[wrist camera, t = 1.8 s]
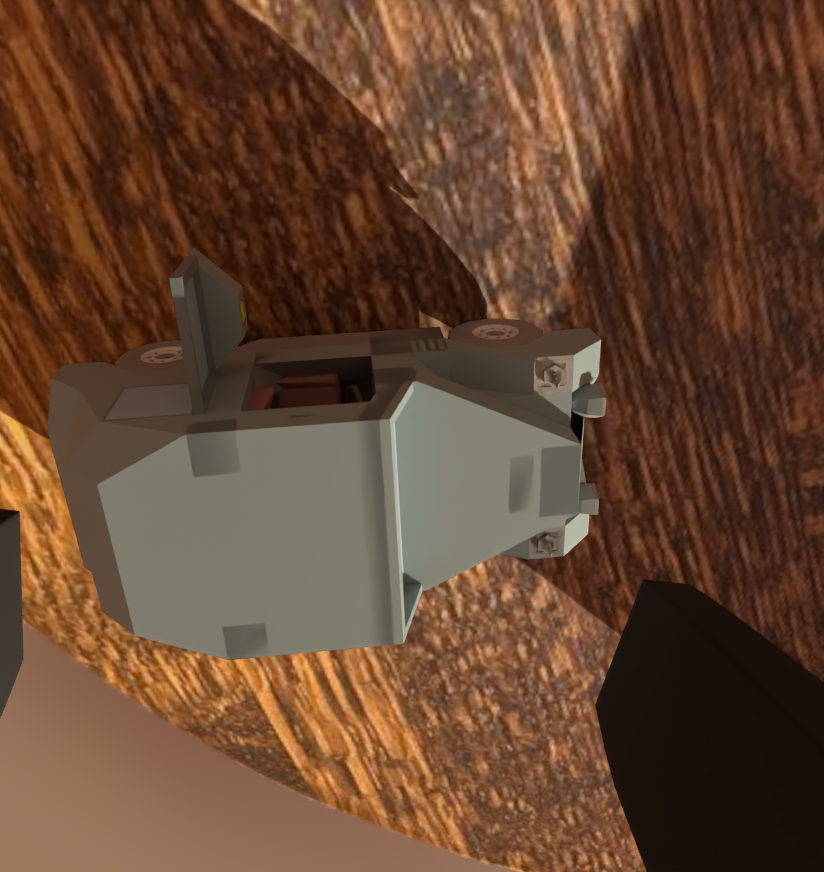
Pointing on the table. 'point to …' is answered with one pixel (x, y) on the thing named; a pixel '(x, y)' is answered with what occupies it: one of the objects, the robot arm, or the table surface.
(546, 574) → the table surface
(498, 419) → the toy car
